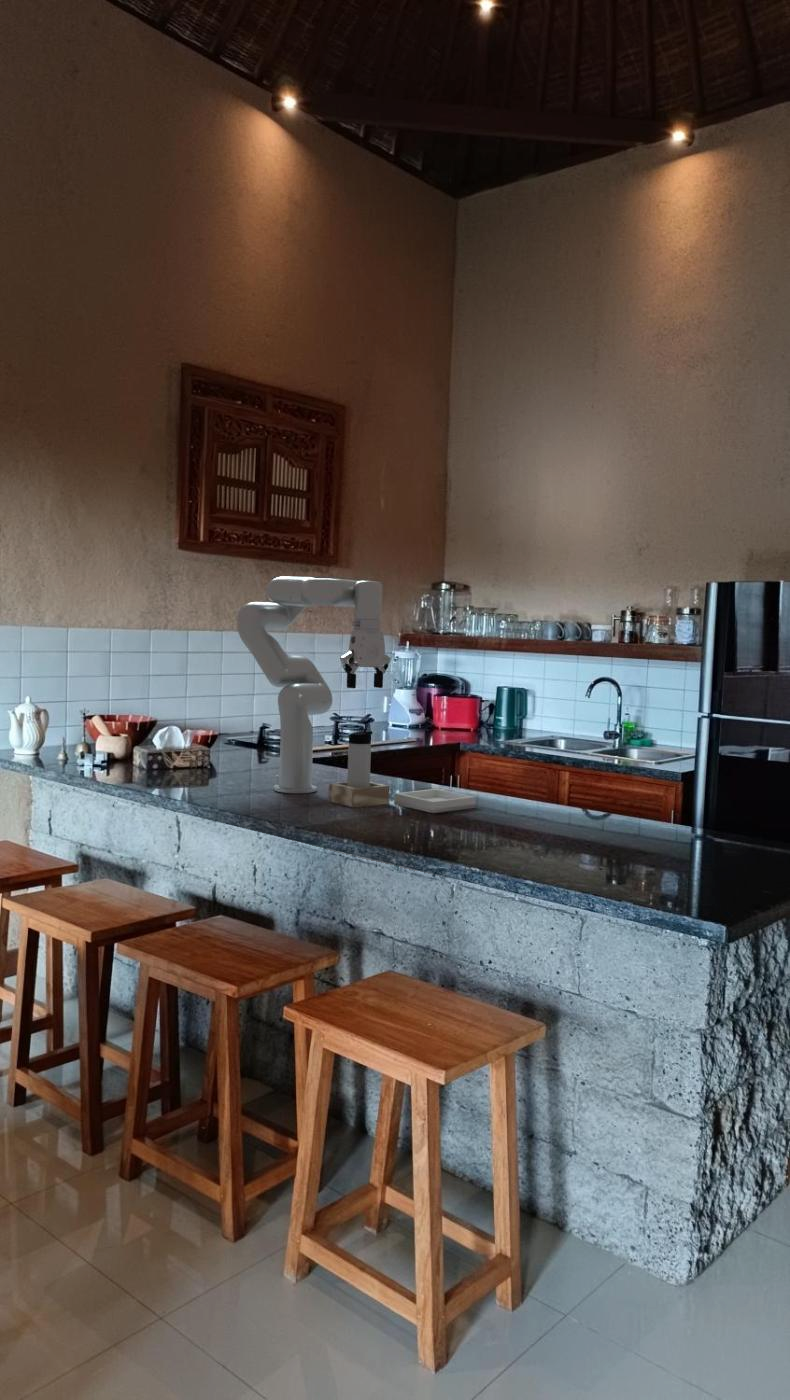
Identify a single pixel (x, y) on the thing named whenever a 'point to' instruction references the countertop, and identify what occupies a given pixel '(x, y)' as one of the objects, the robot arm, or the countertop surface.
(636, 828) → the countertop surface
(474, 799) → the tray
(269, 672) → the robot arm
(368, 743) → the travel mug
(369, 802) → the wooden open box
